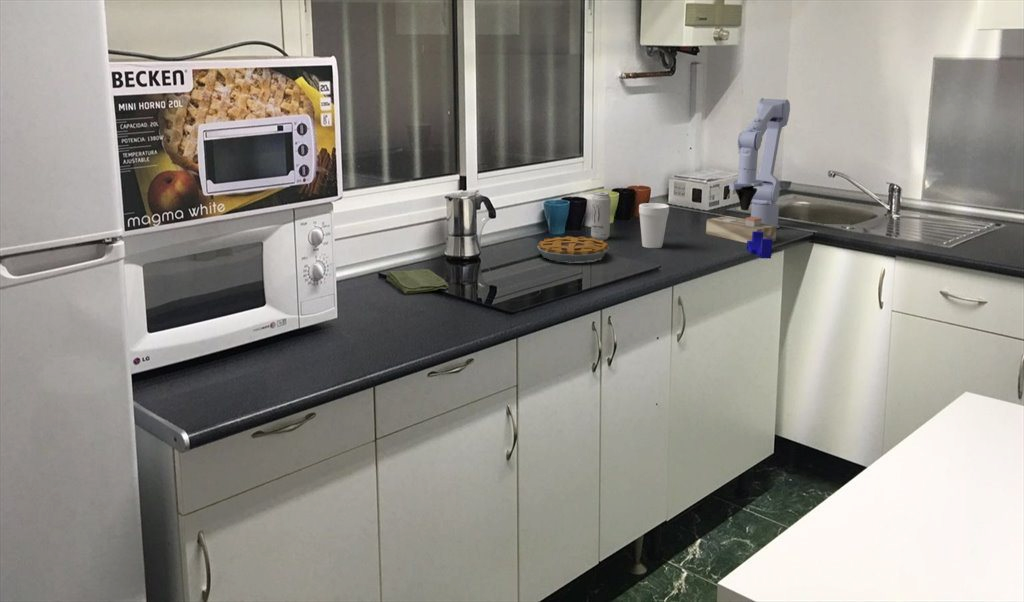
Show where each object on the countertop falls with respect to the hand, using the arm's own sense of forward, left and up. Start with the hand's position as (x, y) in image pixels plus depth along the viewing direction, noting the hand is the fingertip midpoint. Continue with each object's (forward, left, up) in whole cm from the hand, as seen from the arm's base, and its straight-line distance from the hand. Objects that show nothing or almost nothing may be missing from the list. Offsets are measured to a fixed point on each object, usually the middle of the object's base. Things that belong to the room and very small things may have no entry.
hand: (744, 209), depth 324 cm
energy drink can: (+39, -27, -10) cm, 48 cm away
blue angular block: (+14, +18, -10) cm, 25 cm away
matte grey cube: (0, -6, -9) cm, 11 cm away
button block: (0, -1, -10) cm, 10 cm away
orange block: (0, +4, -7) cm, 8 cm away
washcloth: (+119, -12, -10) cm, 120 cm away
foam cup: (+33, -9, -10) cm, 36 cm away
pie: (+63, -13, -10) cm, 65 cm away
